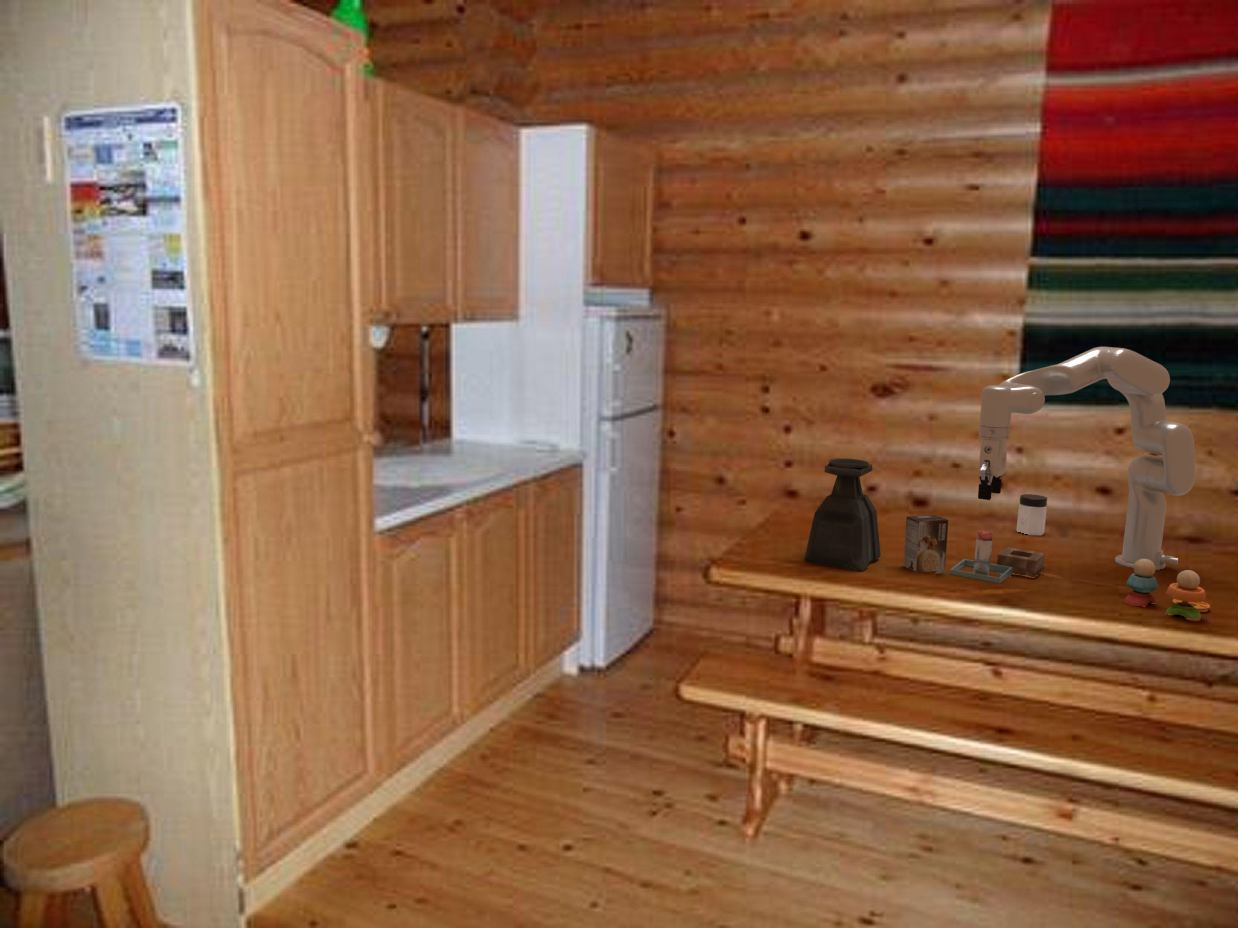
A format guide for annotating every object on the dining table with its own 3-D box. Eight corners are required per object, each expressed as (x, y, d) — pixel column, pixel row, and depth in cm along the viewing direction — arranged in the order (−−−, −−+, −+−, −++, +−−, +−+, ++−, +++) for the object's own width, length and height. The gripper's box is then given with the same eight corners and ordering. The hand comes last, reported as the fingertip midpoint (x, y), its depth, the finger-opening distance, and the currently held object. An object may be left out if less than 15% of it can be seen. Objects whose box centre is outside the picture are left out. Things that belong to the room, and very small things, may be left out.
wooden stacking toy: (1219, 613, 230) (1226, 564, 228) (1195, 629, 219) (1202, 577, 216) (1140, 595, 243) (1146, 548, 241) (1114, 609, 232) (1119, 560, 230)
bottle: (824, 556, 273) (830, 454, 268) (880, 565, 265) (888, 460, 260) (802, 571, 258) (808, 463, 253) (861, 581, 250) (869, 470, 245)
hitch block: (1042, 570, 263) (1044, 553, 262) (1034, 578, 255) (1036, 560, 254) (1005, 563, 269) (1006, 546, 268) (996, 571, 261) (997, 554, 260)
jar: (1010, 530, 308) (1013, 495, 306) (1027, 528, 312) (1030, 492, 310) (1033, 537, 300) (1037, 500, 298) (1050, 534, 304) (1054, 498, 302)
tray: (1011, 576, 257) (1012, 567, 257) (999, 587, 247) (1000, 578, 246) (963, 567, 265) (963, 558, 264) (949, 578, 254) (949, 569, 254)
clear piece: (990, 574, 256) (995, 531, 254) (986, 577, 253) (990, 534, 251) (975, 571, 258) (980, 529, 256) (971, 574, 255) (975, 531, 253)
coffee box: (931, 570, 261) (935, 514, 258) (945, 577, 255) (949, 519, 252) (901, 572, 258) (906, 515, 256) (915, 579, 252) (919, 521, 250)
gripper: (1000, 438, 240) (995, 503, 243) (1017, 430, 253) (1012, 492, 256) (970, 435, 244) (965, 500, 247) (988, 427, 258) (983, 488, 261)
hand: (989, 496), depth 252 cm, fingers open, 9 cm apart
